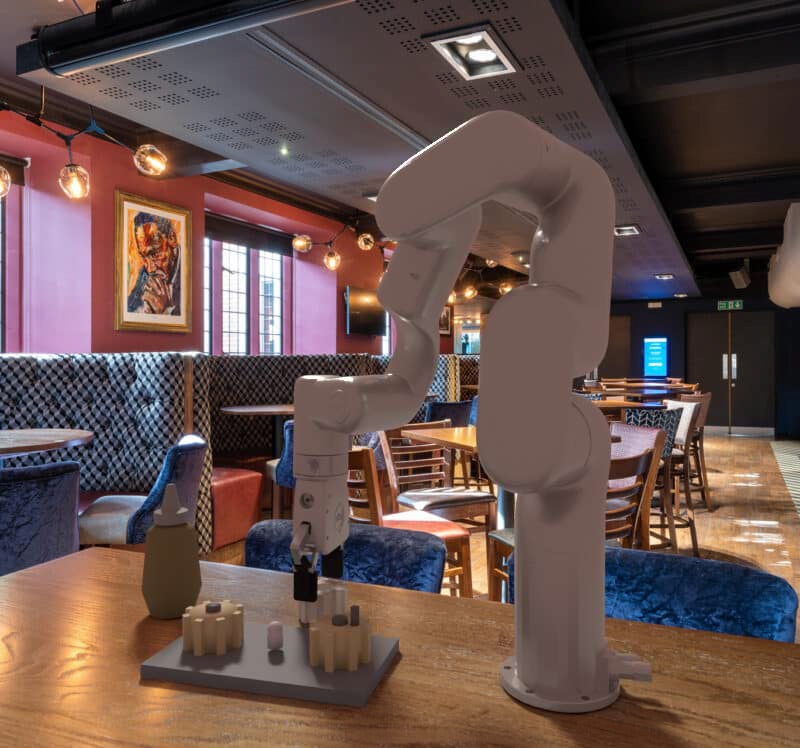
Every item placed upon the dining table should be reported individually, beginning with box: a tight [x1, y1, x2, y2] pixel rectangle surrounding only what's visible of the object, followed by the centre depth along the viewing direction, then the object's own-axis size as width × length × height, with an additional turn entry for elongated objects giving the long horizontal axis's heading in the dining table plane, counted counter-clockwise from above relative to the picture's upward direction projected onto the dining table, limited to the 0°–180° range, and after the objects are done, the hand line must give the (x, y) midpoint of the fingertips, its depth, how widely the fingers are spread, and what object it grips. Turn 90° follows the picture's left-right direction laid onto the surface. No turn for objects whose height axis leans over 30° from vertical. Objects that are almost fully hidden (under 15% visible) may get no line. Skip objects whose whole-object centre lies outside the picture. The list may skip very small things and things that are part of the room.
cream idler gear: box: [297, 578, 349, 625], centre depth 93 cm, size 7×7×4 cm
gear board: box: [139, 599, 400, 709], centre depth 78 cm, size 26×14×8 cm, turn 75°
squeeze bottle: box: [141, 483, 203, 620], centre depth 94 cm, size 8×8×18 cm
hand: (319, 588), depth 93 cm, fingers open, 9 cm apart
